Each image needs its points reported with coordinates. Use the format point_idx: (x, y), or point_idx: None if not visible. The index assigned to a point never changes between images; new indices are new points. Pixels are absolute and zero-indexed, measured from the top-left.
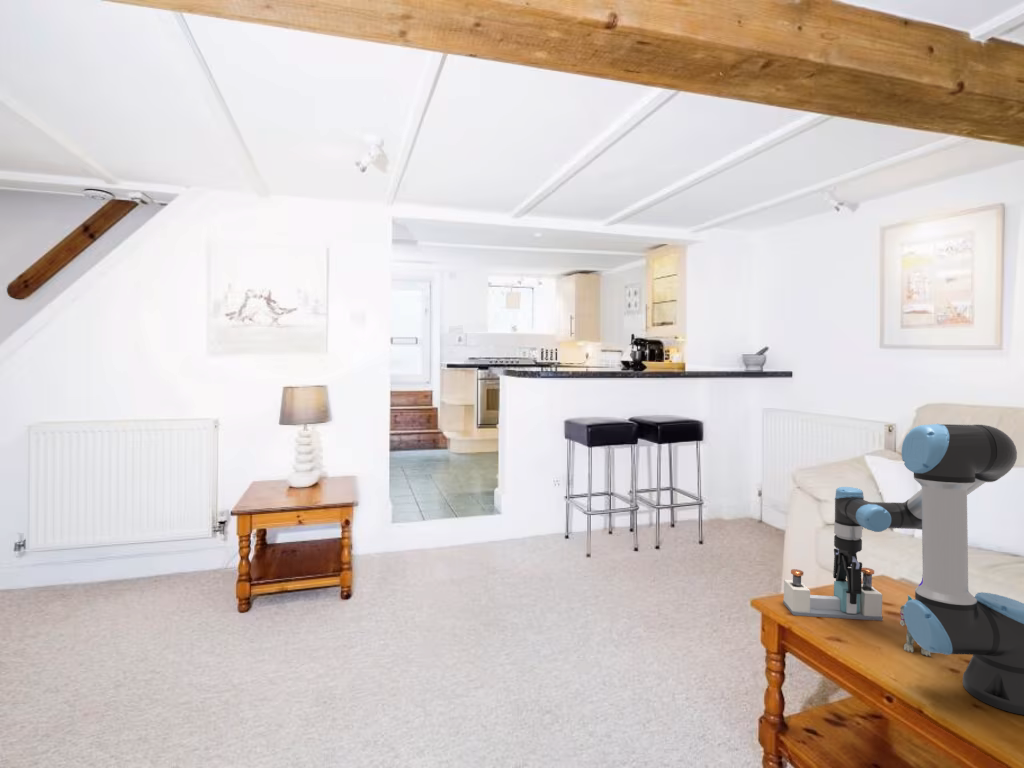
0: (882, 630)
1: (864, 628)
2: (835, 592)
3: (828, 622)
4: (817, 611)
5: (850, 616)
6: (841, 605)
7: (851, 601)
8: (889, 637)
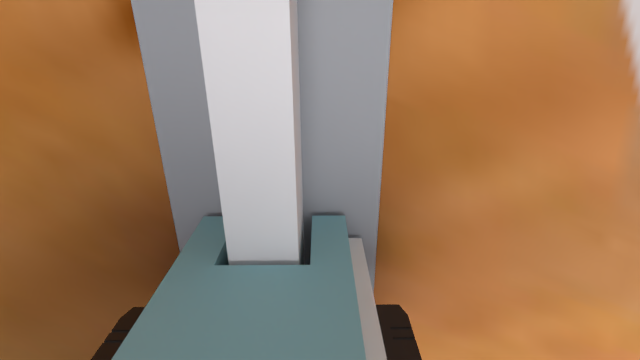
0: (83, 328)
1: (69, 256)
2: (316, 278)
3: (68, 64)
4: (180, 30)
5: (181, 243)
6: (205, 238)
7: (118, 325)
8: (5, 325)
